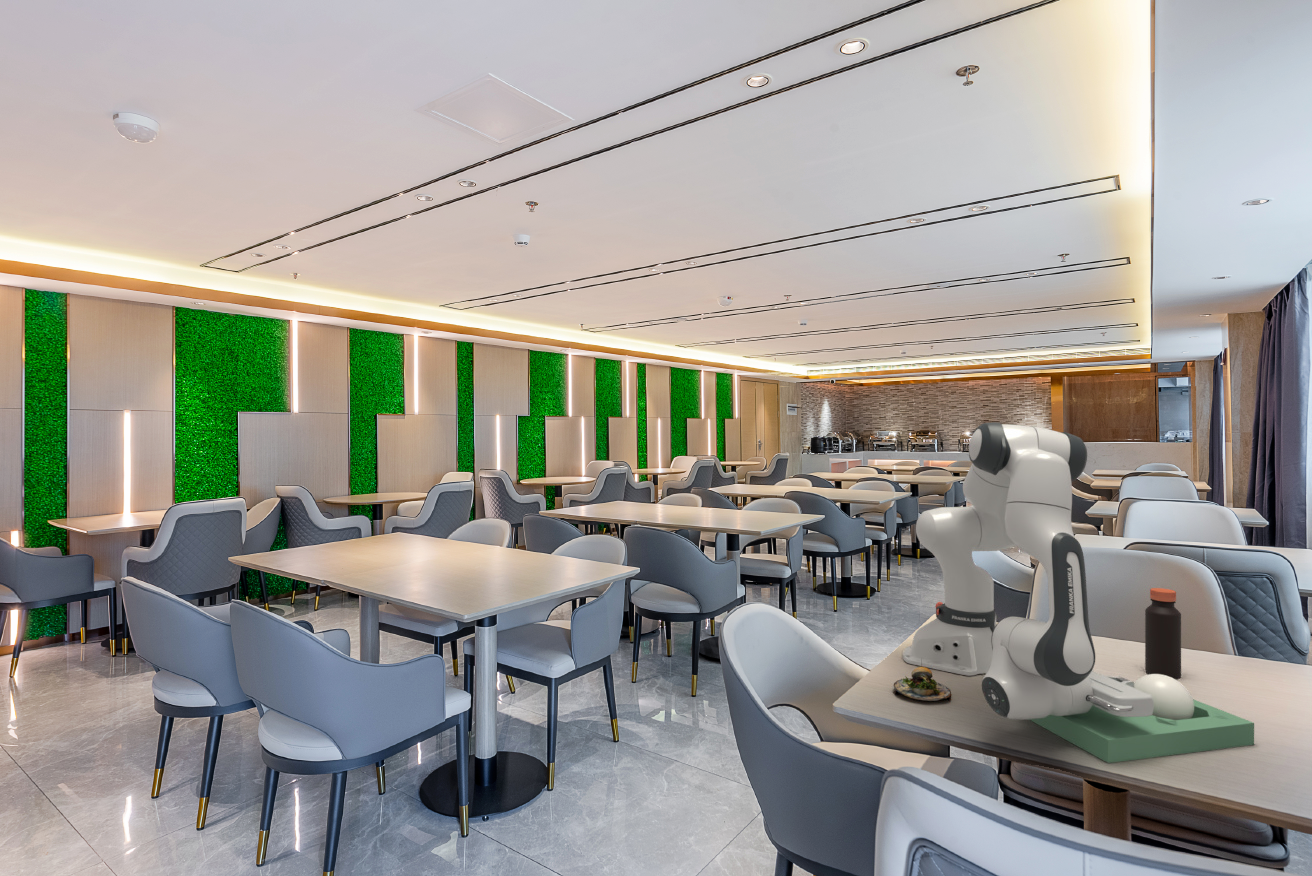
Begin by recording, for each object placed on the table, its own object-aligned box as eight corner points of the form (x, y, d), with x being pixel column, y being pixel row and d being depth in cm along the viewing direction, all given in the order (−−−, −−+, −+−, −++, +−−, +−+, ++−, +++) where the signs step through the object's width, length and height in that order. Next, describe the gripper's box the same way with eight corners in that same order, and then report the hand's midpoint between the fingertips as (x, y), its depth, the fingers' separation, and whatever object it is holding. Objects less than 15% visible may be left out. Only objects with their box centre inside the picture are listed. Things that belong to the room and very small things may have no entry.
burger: (885, 697, 147) (885, 663, 147) (904, 681, 156) (904, 649, 156) (942, 711, 139) (942, 675, 139) (958, 694, 148) (958, 660, 148)
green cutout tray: (1108, 763, 117) (1108, 740, 116) (1022, 715, 136) (1022, 696, 136) (1254, 744, 123) (1254, 722, 123) (1152, 702, 143) (1152, 683, 143)
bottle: (1185, 675, 158) (1185, 590, 158) (1175, 682, 154) (1175, 595, 154) (1150, 667, 164) (1150, 585, 164) (1140, 673, 160) (1140, 589, 159)
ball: (1196, 679, 132) (1191, 730, 131) (1134, 664, 138) (1128, 713, 138) (1197, 687, 124) (1191, 742, 124) (1131, 671, 130) (1125, 723, 130)
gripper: (1115, 693, 116) (1180, 687, 119) (1026, 655, 136) (1084, 650, 139) (1115, 730, 116) (1180, 722, 119) (1026, 686, 136) (1084, 680, 139)
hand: (1127, 683), depth 129 cm, fingers closed
